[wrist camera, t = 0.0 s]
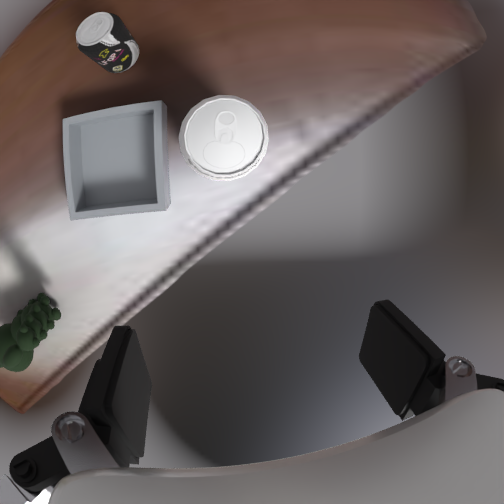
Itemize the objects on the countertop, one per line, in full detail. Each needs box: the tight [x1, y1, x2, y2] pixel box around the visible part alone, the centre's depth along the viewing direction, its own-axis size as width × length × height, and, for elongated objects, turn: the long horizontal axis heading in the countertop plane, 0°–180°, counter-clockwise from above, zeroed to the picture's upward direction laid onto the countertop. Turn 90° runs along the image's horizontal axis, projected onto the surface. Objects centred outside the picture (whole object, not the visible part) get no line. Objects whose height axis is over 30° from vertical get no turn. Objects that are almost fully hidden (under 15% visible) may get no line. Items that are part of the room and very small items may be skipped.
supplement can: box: [179, 95, 269, 181], centre depth 29 cm, size 8×8×15 cm
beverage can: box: [76, 12, 139, 73], centre depth 23 cm, size 6×6×12 cm
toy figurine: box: [0, 293, 61, 372], centre depth 32 cm, size 9×19×25 cm
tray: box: [63, 100, 171, 220], centre depth 32 cm, size 14×14×5 cm
